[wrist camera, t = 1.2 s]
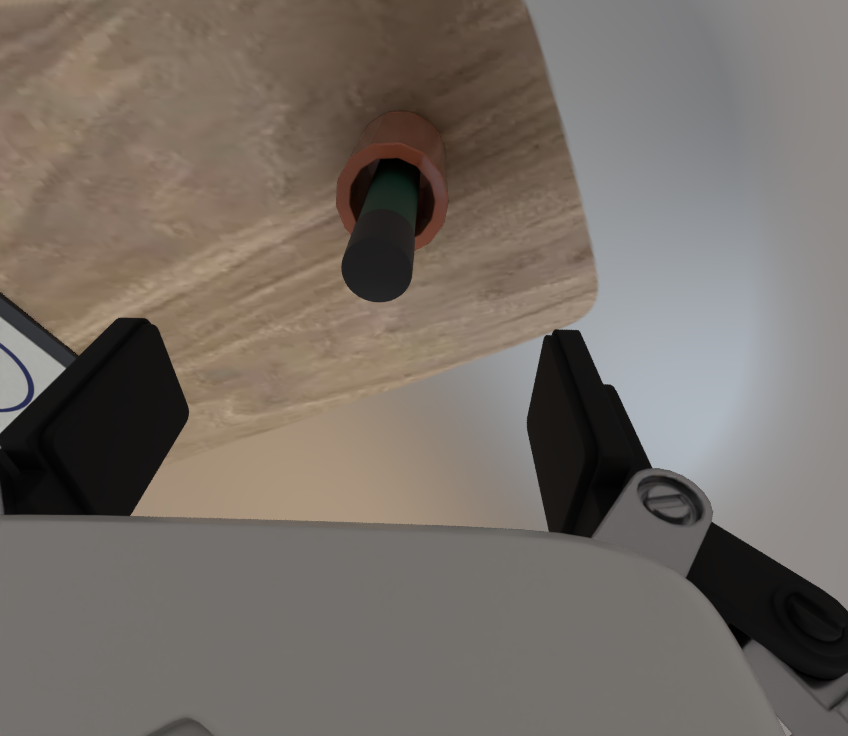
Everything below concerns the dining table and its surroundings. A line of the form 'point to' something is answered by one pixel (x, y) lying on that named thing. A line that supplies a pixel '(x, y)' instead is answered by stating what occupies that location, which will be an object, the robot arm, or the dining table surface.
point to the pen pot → (409, 143)
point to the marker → (384, 234)
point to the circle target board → (26, 360)
